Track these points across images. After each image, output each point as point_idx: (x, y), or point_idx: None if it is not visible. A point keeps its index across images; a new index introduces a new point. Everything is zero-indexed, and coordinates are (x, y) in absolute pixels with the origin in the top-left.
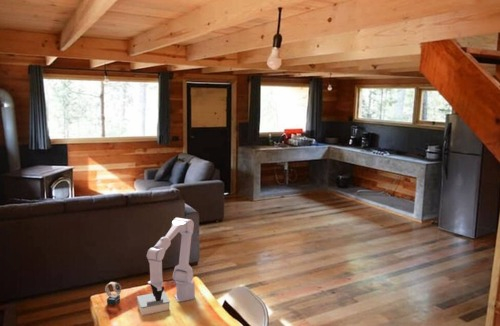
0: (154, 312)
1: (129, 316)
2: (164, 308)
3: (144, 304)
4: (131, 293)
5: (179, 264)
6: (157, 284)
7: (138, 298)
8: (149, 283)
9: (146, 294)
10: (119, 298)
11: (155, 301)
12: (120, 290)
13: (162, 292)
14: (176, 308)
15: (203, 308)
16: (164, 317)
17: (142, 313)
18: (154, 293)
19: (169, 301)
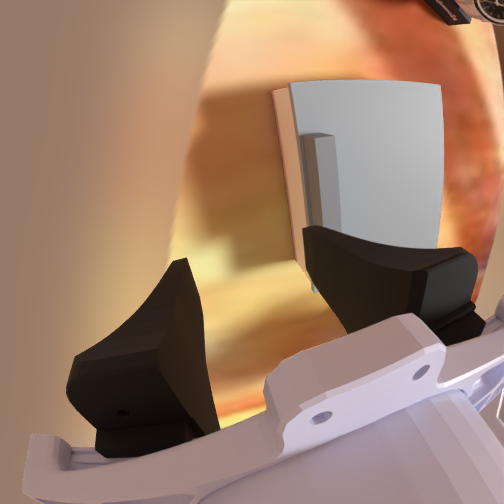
0: (285, 174)
1: (286, 21)
2: (298, 241)
3: (330, 114)
4: (482, 88)
5: (492, 422)
6: (169, 502)
7: (417, 88)
8: (271, 411)
9: (443, 146)
10: (454, 21)
11: (319, 208)
12: (483, 15)
13: (428, 242)
14: (301, 292)
15: (262, 386)
16: (219, 235)
17: (277, 96)
18: (112, 333)
19: (315, 291)
